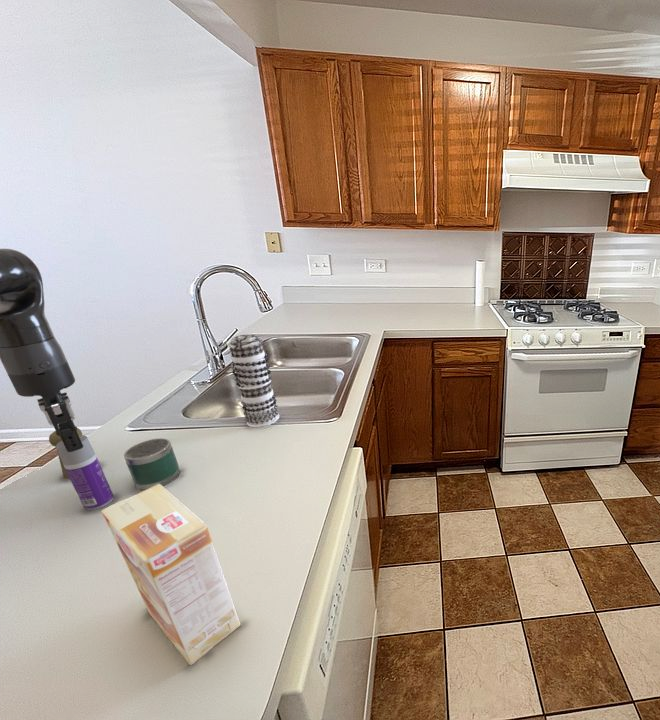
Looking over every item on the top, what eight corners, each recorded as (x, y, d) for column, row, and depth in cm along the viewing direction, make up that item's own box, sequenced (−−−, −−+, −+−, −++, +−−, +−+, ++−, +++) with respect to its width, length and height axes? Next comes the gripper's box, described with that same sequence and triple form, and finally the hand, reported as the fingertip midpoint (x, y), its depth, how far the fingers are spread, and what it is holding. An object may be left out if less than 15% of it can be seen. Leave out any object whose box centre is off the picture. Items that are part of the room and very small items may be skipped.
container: (118, 499, 83) (91, 438, 78) (89, 513, 79) (59, 451, 74) (108, 492, 85) (82, 432, 80) (80, 505, 82) (50, 443, 76)
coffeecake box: (144, 609, 61) (98, 510, 53) (196, 575, 66) (160, 481, 59) (188, 669, 53) (141, 562, 46) (243, 625, 58) (208, 523, 51)
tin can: (127, 492, 85) (114, 461, 82) (147, 469, 92) (136, 440, 89) (169, 487, 87) (158, 456, 84) (186, 465, 94) (177, 436, 91)
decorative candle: (287, 417, 115) (270, 335, 106) (256, 431, 108) (235, 345, 98) (270, 408, 120) (252, 329, 110) (238, 422, 112) (216, 338, 103)
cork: (61, 482, 88) (41, 440, 84) (65, 469, 93) (45, 429, 88) (98, 471, 92) (80, 431, 88) (99, 459, 96) (82, 420, 92)
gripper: (4, 361, 73) (42, 436, 79) (7, 382, 64) (49, 465, 70) (61, 350, 78) (92, 421, 84) (71, 368, 69) (104, 446, 75)
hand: (72, 441), depth 77 cm, fingers open, 8 cm apart
